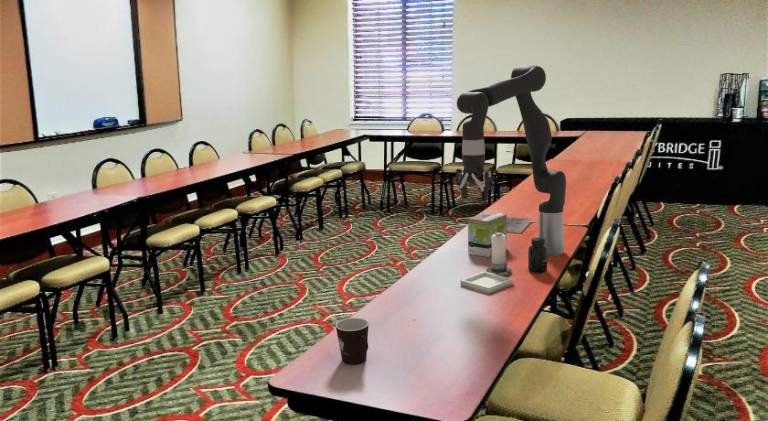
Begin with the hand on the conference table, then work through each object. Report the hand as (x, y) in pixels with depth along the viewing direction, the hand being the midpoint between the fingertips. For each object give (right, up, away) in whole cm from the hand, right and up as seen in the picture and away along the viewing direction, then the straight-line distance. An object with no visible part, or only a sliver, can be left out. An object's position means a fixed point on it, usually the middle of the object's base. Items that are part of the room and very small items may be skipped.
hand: (474, 200), depth 221 cm
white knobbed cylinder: (+11, -22, +14) cm, 28 cm away
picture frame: (+27, -12, +80) cm, 86 cm away
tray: (+5, -29, +3) cm, 30 cm away
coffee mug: (-38, -43, -51) cm, 77 cm away
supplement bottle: (+25, -26, +15) cm, 39 cm away
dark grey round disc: (+11, -26, +15) cm, 32 cm away
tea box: (+11, -20, +42) cm, 48 cm away
